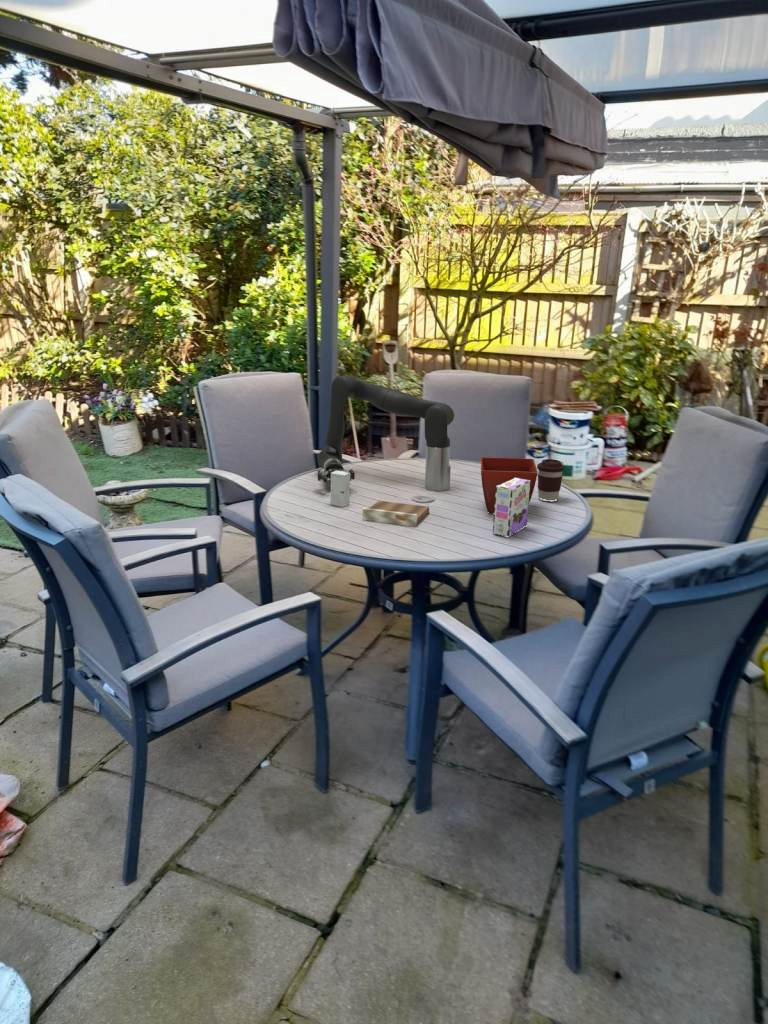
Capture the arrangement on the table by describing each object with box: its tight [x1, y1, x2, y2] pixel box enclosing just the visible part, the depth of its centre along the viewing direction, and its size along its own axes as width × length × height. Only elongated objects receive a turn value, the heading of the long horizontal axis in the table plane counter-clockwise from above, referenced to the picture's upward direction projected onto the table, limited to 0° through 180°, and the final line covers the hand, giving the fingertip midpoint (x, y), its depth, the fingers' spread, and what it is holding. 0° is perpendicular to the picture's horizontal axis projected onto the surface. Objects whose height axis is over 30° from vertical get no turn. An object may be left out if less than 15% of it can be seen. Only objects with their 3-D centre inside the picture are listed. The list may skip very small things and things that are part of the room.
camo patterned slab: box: [362, 500, 430, 527], centre depth 232 cm, size 19×16×4 cm
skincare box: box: [330, 471, 351, 508], centre depth 243 cm, size 6×4×12 cm
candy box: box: [492, 478, 530, 536], centre depth 217 cm, size 14×6×16 cm, turn 143°
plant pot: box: [480, 456, 539, 514], centre depth 239 cm, size 19×19×17 cm
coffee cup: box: [536, 458, 565, 500], centre depth 251 cm, size 10×10×15 cm
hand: (337, 480), depth 253 cm, fingers open, 8 cm apart
